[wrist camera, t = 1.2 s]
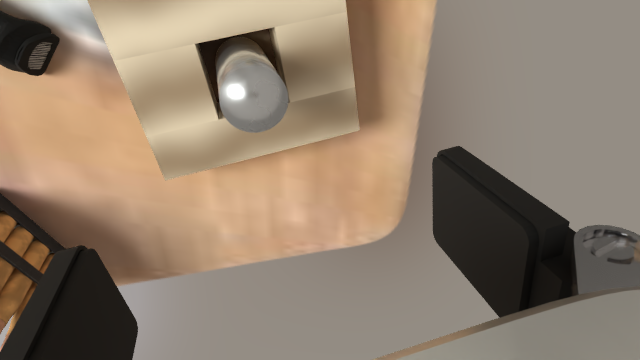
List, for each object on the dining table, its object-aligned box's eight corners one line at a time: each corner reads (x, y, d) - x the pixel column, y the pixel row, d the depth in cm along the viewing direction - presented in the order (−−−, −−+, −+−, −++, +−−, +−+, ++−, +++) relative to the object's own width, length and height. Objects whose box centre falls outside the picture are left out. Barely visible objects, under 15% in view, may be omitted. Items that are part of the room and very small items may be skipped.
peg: (208, 42, 30) (210, 74, 21) (259, 31, 30) (280, 59, 22) (223, 92, 32) (230, 139, 23) (270, 81, 32) (294, 123, 24)
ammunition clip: (-29, 196, 31) (-145, 311, 20) (-9, 185, 31) (-114, 295, 20) (71, 278, 36) (19, 399, 26) (88, 269, 36) (43, 386, 26)
